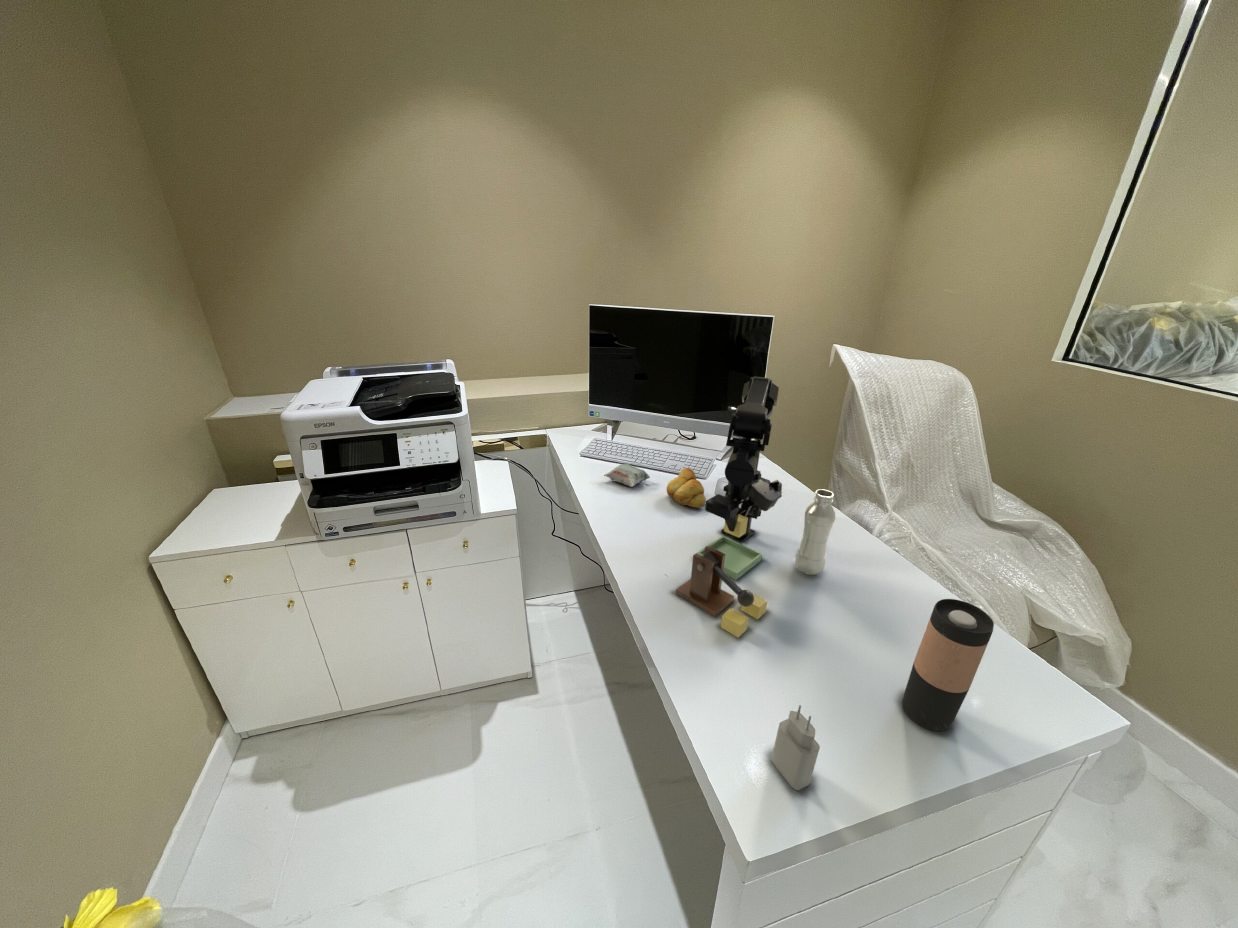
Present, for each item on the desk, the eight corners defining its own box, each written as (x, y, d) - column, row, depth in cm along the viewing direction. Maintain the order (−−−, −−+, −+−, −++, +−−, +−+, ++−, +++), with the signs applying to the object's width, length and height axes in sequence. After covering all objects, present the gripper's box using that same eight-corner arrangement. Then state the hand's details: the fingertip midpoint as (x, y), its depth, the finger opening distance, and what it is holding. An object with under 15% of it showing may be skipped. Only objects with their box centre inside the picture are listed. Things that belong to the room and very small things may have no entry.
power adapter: (785, 749, 75) (799, 691, 70) (812, 782, 70) (829, 722, 65) (769, 757, 73) (782, 699, 68) (795, 791, 69) (811, 731, 64)
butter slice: (730, 526, 117) (732, 511, 116) (745, 532, 115) (748, 517, 113) (723, 531, 115) (725, 515, 114) (738, 537, 113) (741, 522, 111)
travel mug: (890, 693, 84) (922, 598, 76) (933, 691, 85) (969, 596, 77) (918, 734, 78) (957, 635, 69) (965, 731, 78) (1009, 632, 70)
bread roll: (712, 508, 142) (715, 482, 138) (682, 514, 138) (685, 488, 135) (688, 488, 152) (690, 464, 149) (660, 494, 149) (662, 469, 145)
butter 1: (729, 619, 100) (730, 607, 99) (746, 629, 98) (748, 617, 96) (720, 627, 98) (722, 615, 97) (738, 637, 96) (740, 625, 94)
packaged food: (632, 492, 149) (633, 477, 147) (603, 480, 156) (603, 466, 154) (650, 483, 155) (651, 469, 153) (621, 472, 162) (621, 458, 160)
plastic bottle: (824, 565, 118) (841, 489, 109) (821, 581, 112) (839, 503, 104) (795, 558, 120) (810, 483, 112) (791, 573, 114) (807, 496, 106)
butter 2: (748, 603, 105) (750, 591, 104) (765, 612, 102) (767, 600, 101) (740, 609, 103) (742, 598, 102) (757, 619, 100) (759, 607, 99)
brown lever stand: (733, 600, 105) (740, 558, 101) (714, 616, 101) (720, 572, 96) (695, 579, 112) (699, 538, 107) (675, 593, 107) (679, 551, 103)
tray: (722, 541, 126) (723, 535, 125) (761, 560, 119) (762, 553, 118) (696, 559, 119) (696, 552, 118) (736, 580, 112) (737, 573, 111)
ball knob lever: (752, 604, 100) (760, 595, 98) (743, 612, 97) (751, 603, 95) (705, 558, 105) (711, 549, 103) (695, 564, 103) (702, 555, 101)
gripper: (754, 493, 97) (744, 560, 103) (798, 465, 109) (787, 526, 116) (706, 474, 104) (700, 538, 110) (753, 450, 116) (745, 509, 123)
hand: (735, 528), depth 115 cm, fingers closed on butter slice, 3 cm apart
